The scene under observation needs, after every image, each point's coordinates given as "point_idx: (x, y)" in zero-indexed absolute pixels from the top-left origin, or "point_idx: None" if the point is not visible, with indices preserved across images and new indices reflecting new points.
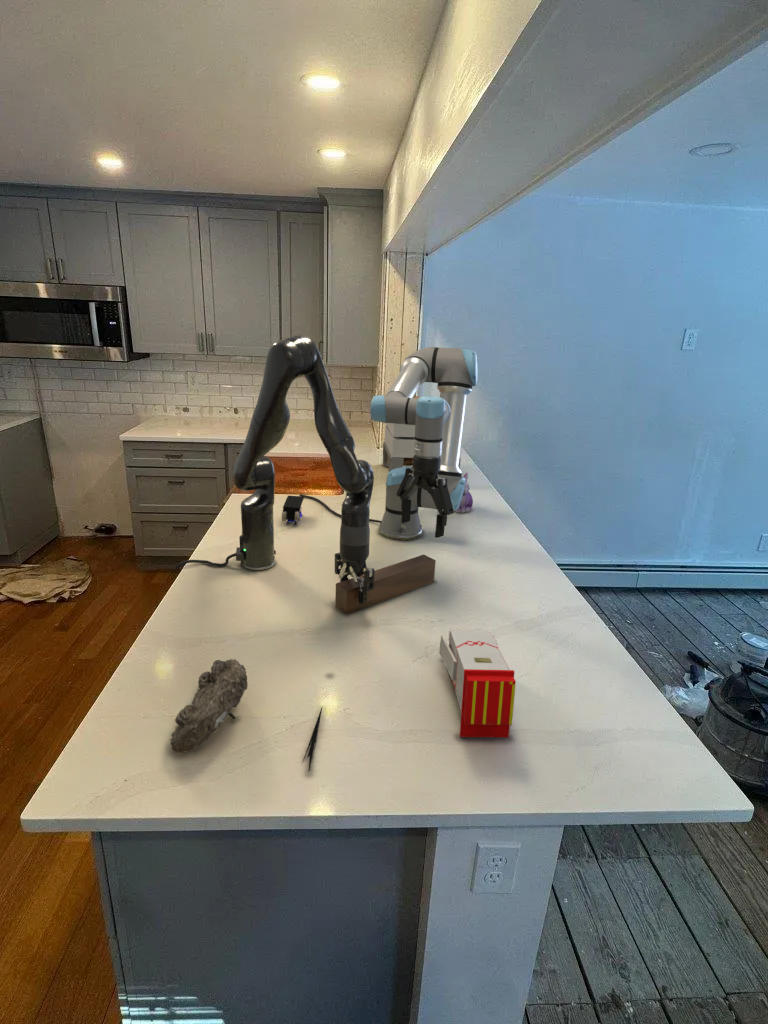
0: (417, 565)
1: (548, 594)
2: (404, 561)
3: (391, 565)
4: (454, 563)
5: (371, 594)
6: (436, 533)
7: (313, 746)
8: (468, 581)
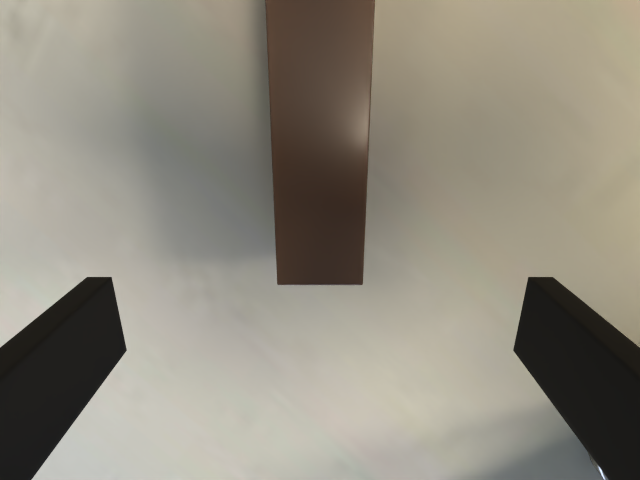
0: (281, 167)
1: None
2: (361, 145)
3: (368, 40)
4: (351, 396)
5: None
6: (73, 296)
7: None
8: (219, 339)
